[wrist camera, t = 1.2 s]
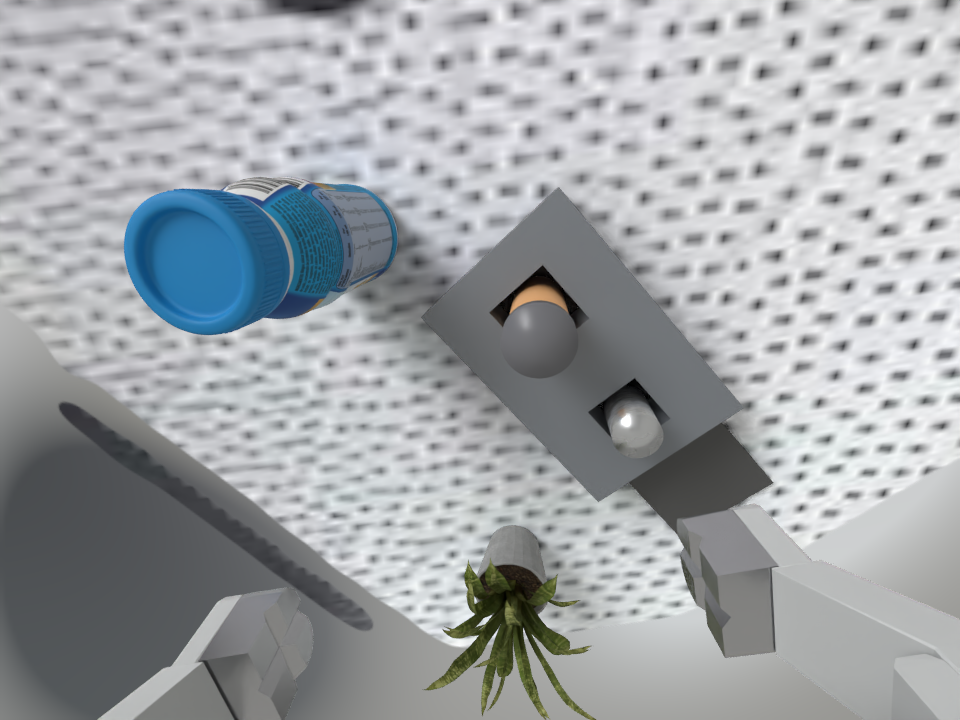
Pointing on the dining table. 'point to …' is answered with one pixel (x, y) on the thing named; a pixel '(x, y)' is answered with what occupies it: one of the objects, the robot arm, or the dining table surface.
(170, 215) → the beverage bottle
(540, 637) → the house plant
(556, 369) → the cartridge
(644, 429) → the plunger
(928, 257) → the dining table surface
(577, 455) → the housing
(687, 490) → the mat
